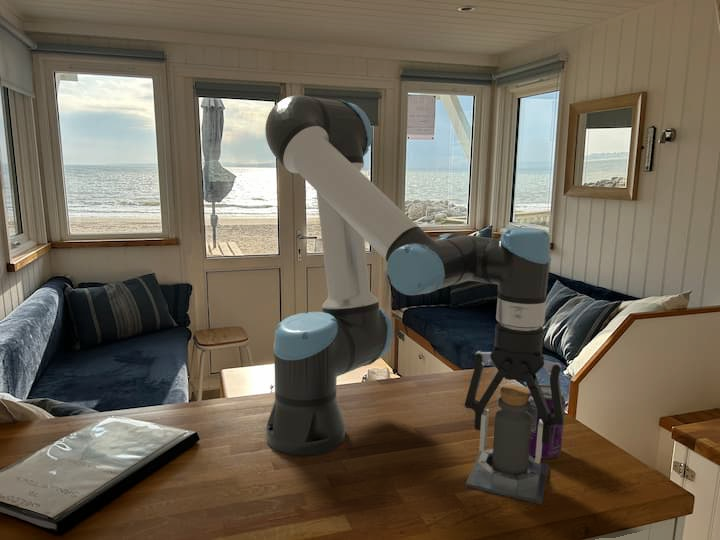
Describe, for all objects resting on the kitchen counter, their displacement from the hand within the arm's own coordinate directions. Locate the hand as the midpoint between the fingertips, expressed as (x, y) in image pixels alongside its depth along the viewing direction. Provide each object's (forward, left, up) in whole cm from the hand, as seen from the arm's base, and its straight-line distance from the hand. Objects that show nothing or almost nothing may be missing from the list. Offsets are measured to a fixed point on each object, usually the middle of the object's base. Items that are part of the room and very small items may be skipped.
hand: (510, 453), depth 95 cm
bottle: (0, 0, -4) cm, 4 cm away
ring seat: (0, 0, -4) cm, 4 cm away
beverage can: (+4, +11, -5) cm, 13 cm away
